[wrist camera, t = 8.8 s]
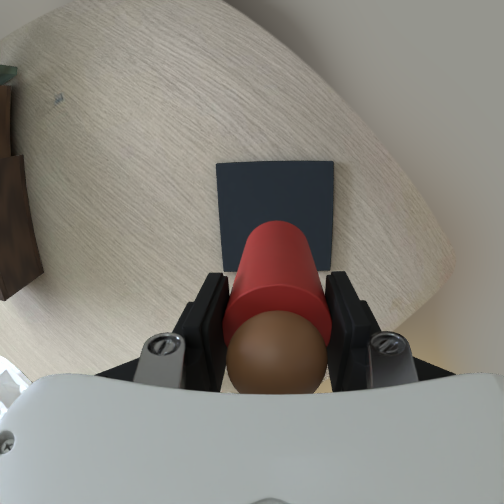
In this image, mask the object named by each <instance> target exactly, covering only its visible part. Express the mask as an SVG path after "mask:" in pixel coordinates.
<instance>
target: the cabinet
mask: <svg viewBox="0 0 504 504" xmlns="http://www.w3.org/2000/svg"><path fill="white" fill-rule="evenodd" d="M43 273H44V271H43V267H42V264H41V260H40V256H39V252H38V248H37V244H36V239H35V235H34V230H33V225H32V220H31V214H30V209H29V203H28V196H27V189H26V180H25V171H24V159H23V155H18V156H12V157H6V158H1V159H0V300H2V301H6V300H7V299H8V298H10V297H11V296H13V295H14V294H15V293H17V292H18V291H19V290H21V289H22V288H23V287H25V286H26V285H27V284H29V283H30V282H32V281H33V280H34V279H36V278H37V277H39V276H40V275H42V274H43Z"/></svg>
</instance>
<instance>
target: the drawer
mask: <svg viewBox="0 0 504 504" xmlns="http://www.w3.org/2000/svg"><path fill="white" fill-rule="evenodd" d="M17 69H18V67H14V66H6V65H0V159H1V158H6V157H11V147H10V101H11V86H7V85H2V84H4V83H5V82H7V81H8V80H10V79H11V78H13V77H14V76H16V75H17Z"/></svg>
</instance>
